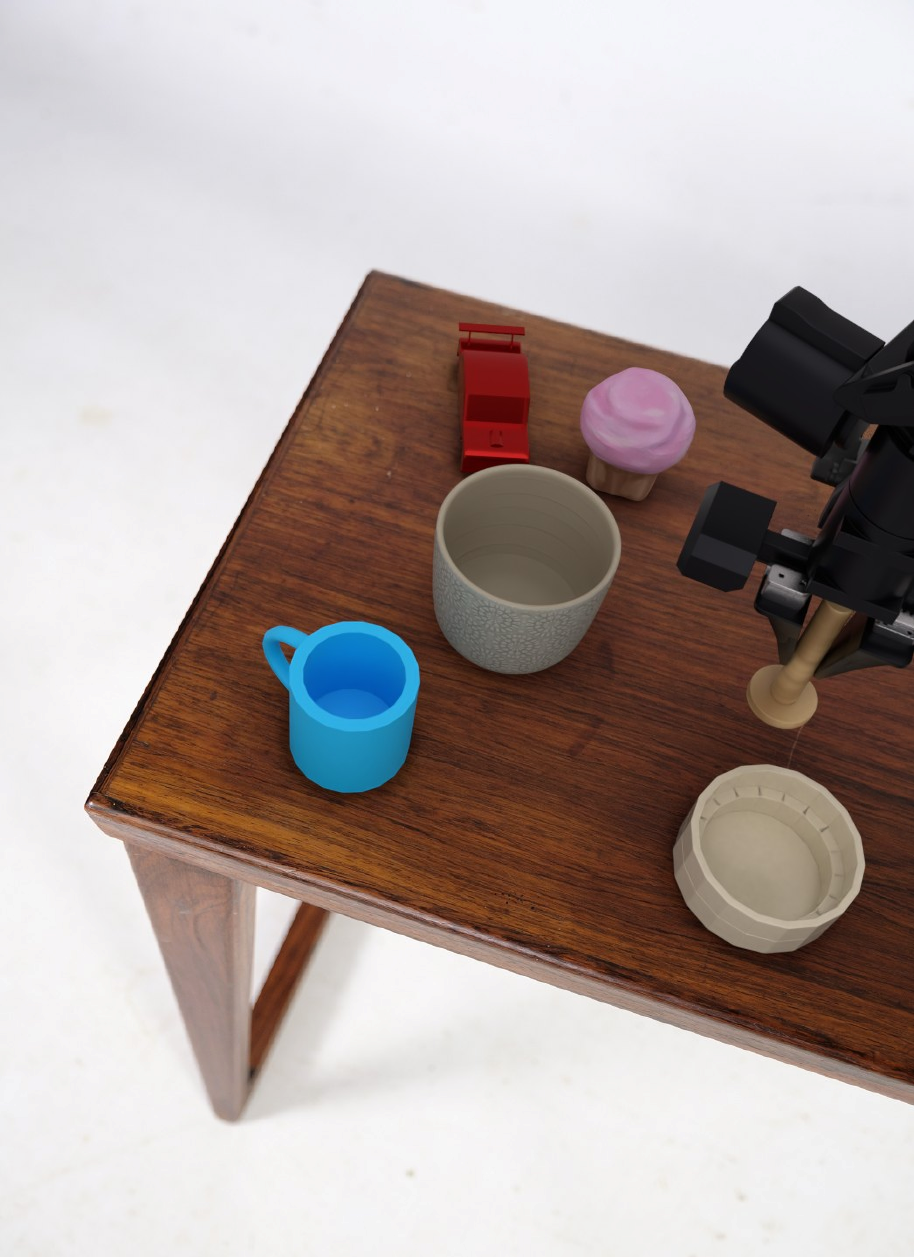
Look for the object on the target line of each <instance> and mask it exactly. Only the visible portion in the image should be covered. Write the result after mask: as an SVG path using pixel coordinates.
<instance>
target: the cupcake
mask: <svg viewBox="0 0 914 1257" xmlns="http://www.w3.org/2000/svg"><path fill="white" fill-rule="evenodd" d="M696 423H697V422H696V417H695V414H694V411H693V408H692V405H691V403H690V401H689V400H688V398H687V397H686V395H685V394H684V392H683V391H682V389H681V388H680V387H679V386H678V384H676V383H675V381H673V380H672V379H671V378H669V377H668V376H667V375H665V374H663V373H661V372H658V371H656V370H653V369H649V368H643V367H638V366H632V367H629V368H626V369H624V370H622V371H620V372H618V373H615V374H612V375H610V376H608V377H607V378H606V379H604V380H603V381H601V382H600V383H598V384H597V385H595V386H594V387H593V388H592V389H590V390H589V392H588V393H587V394H586V396H585V397H584V399H583V403H582V406H581V409H580V419H579V427H580V432H581V435H582V437H583V439H584V442H585V443H586V445H587V446H588V448H589V449H590V450H589V458H588V462H587V467H586V472H585V479H586V481H587V483H588V484H589V485H590V487H591V488H592V489H594V490H596V491H600V492H603V493H607V494H610V495H612V496H613V495H614V496H618V497H622V498H625V499H628V500H631V501H634V502H635V501H636V502H637V501H638V502H640V501H643V500H645V499H646V497H647V496H648V494H649V493H650V491H651V490H652V487H653V486H654V485H655V482H656V480H657V477H658V475H659V474H660V473H662V472H665V471H666V470H668V469H670V468H671V467H673V466H675V465H676V464H678V463H679V462H680V461H681V460H683V458H685V456H686V454H687V453H688V451H689V449H690V447H691V444H692V442H693V441H694V436H695V435H694V434H695V432H696V427H697V426H696Z"/></svg>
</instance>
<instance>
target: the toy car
mask: <svg viewBox="0 0 914 1257" xmlns="http://www.w3.org/2000/svg"><path fill="white" fill-rule="evenodd" d="M525 329H526V328H525V326H515V325H503V324H502V325H500V324H490V323H489V324H486V323H474V322H462V321H461V322H460V321H459V322H458V332H466V333H468V337H465V336H464V337H463V336H460V337H459V338H458V343H457V349H456V357H458V362H457V363H458V364H457V395H458V396H457V399H458V423H459V424H458V426H459V441H461V452H460V453H461V454H460V458H461V460H460V472H461V473H468V474H469V473H471V474H474V473H477V472H479V471H481V470H484V469H487V468H491V467H495V466H500V465H509V464H526V465H530V460H531V453H530V441H529V429H528V422H529V414H530V404H531V386H530V385H531V384H530V374H529V362H528V357H527V354H526V353H522V343H521V340H520V341H519V340H514V336H520V337H526V330H525ZM472 333H480V334H492V335H507V336H510V340H507V339H506V340H505V339H493V338H492V339H491V338H477V337H472Z"/></svg>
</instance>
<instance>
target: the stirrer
mask: <svg viewBox="0 0 914 1257" xmlns="http://www.w3.org/2000/svg"><path fill="white" fill-rule="evenodd" d="M853 613H854V611H853V610H851V609H848V608H845V607H843V606H840V605H838V604H835V603H833V602H830V601H827V600H825V599H822V598H821V601H820V603H819V605H818V606H817V608H816V609H815V611H814V612H813V614H812V616H811V618H810V619H809V621H808V623H807V625H806V627H805V628H804V630H803V631H802V632H801V634H800V636H799V638H798V641H797V644H796V647H795V650H794V653H793V656H792V659H791V660H790V662H789V663H788V664H787V665H786V666H784V665H781V664H769V665H765V666H764V667H761V668H759V669H758V670H757V671H756V672H755V673H754V674H753V675H752V676H751V679H750V680H749V682H748V684H747V686H746V700H747V703H748V705H749V708H750V710H751V711H752V712H753V713H754V715H755V716H756V717H757V718H758V719H760V720H761V721H762V722H763V723H765V724H767V725H769V726H771V727H774V728H777V729H782V730H792V729H797V728H801V727H802V726H804V725H806V724H808V723H809V721H810V720H811V718H812V717H813V715H814V714H815V712H816V710H817V708H818V703H819V702H818V701H819V699H818V693H817V690H816V688H815V686H814V685H813V682H811V678H812V677H814V673H815V671H816V669H817V668H818V666H819V665H820V663H821V661H822V660H823V658H824V657H825V655H826V654H827V652H828V650H829V649H830V647H831V646H832V644H833V643H834V641H835V639H836V638H837V636H838V635H839V633H840V632H841V630H842V629H843V627H844V626H845V625H846V624H847V622H848V621H849V620H850V618H851V617H852V615H853Z"/></svg>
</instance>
